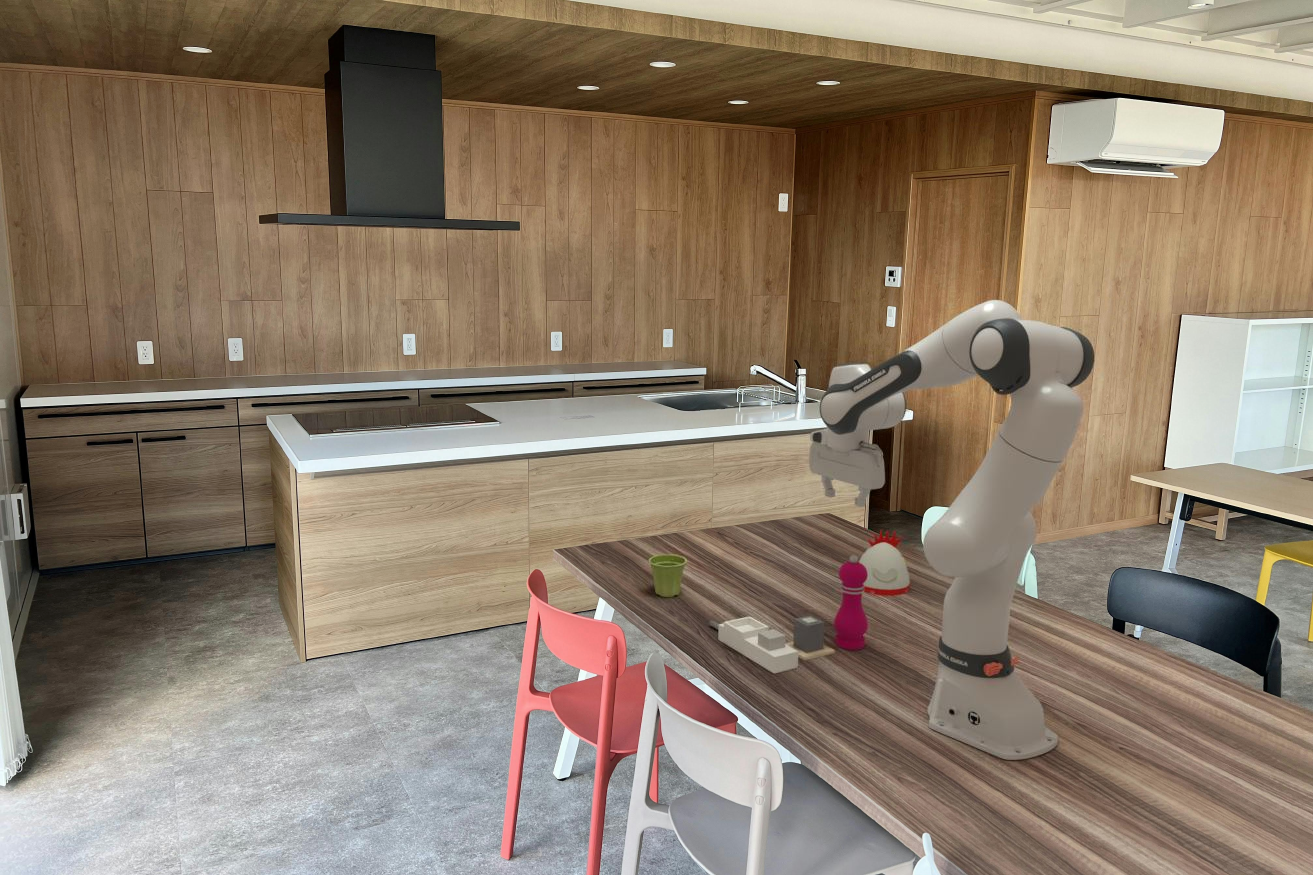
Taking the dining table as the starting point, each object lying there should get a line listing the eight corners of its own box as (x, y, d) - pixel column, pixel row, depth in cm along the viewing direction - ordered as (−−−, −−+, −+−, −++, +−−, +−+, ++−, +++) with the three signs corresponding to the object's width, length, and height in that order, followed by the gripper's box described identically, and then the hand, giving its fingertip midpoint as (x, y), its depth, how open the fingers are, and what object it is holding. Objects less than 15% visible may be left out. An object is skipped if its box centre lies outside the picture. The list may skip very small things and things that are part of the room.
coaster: (834, 652, 194) (834, 650, 194) (805, 660, 190) (805, 657, 190) (810, 639, 201) (810, 637, 201) (781, 647, 197) (781, 644, 197)
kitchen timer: (912, 597, 228) (915, 539, 226) (855, 594, 231) (858, 536, 228) (906, 579, 242) (909, 524, 239) (852, 576, 244) (855, 521, 242)
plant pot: (686, 599, 225) (687, 565, 224) (648, 599, 225) (648, 565, 224) (686, 587, 234) (686, 554, 233) (649, 586, 235) (649, 554, 233)
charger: (823, 649, 194) (824, 621, 193) (806, 653, 192) (807, 625, 191) (809, 641, 198) (810, 614, 197) (793, 645, 196) (794, 618, 195)
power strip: (799, 666, 187) (800, 639, 186) (772, 674, 183) (773, 645, 182) (723, 622, 210) (723, 597, 209) (697, 628, 207) (698, 603, 206)
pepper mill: (867, 652, 194) (871, 561, 191) (832, 649, 196) (836, 559, 192) (866, 639, 201) (871, 551, 198) (833, 636, 203) (836, 549, 199)
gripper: (893, 444, 189) (890, 509, 191) (826, 430, 206) (824, 490, 208) (870, 447, 186) (867, 513, 188) (805, 432, 203) (803, 493, 205)
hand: (844, 501), depth 198 cm, fingers open, 8 cm apart
